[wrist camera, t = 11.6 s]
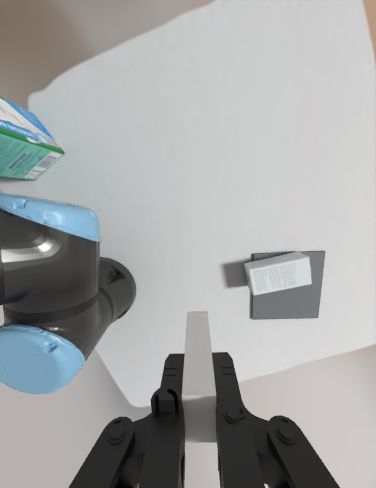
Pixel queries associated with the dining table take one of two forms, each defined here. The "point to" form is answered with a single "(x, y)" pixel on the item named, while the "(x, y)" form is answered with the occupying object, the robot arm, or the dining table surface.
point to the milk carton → (24, 144)
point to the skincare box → (278, 273)
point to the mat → (291, 293)
